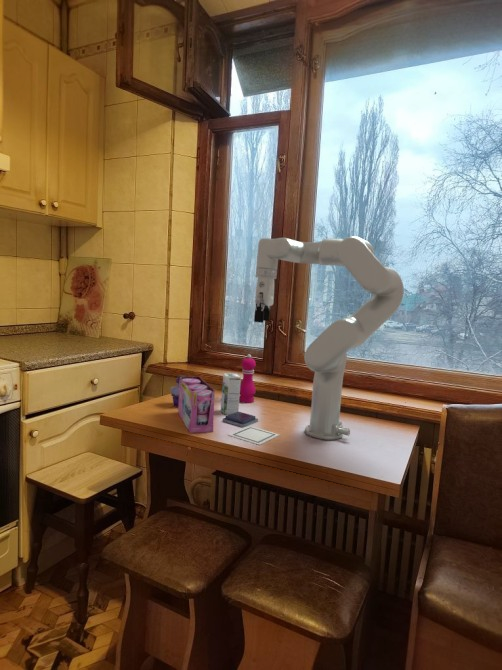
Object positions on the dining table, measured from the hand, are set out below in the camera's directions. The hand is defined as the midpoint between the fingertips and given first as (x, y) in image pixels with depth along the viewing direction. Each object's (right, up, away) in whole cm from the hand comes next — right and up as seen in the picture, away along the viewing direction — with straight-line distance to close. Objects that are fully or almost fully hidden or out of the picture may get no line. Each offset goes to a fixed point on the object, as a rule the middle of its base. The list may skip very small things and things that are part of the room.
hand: (261, 321), depth 148 cm
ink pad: (-8, -36, -4) cm, 37 cm away
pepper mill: (-6, -33, +24) cm, 41 cm away
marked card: (-3, -37, -17) cm, 41 cm away
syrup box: (-12, -35, +7) cm, 37 cm away
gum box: (-24, -35, -7) cm, 43 cm away
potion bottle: (-32, -33, +12) cm, 47 cm away
